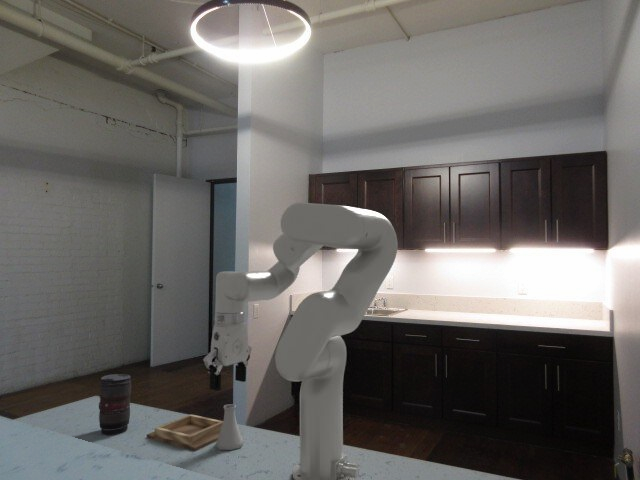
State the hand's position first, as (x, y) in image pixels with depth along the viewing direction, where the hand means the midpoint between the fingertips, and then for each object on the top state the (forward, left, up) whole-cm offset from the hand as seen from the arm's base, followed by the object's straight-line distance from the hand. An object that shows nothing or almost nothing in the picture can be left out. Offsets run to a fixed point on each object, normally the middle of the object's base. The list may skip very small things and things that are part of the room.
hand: (228, 385), depth 119 cm
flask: (-1, 0, -15) cm, 15 cm away
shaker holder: (+13, 0, -15) cm, 20 cm away
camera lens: (+34, +8, -15) cm, 39 cm away
